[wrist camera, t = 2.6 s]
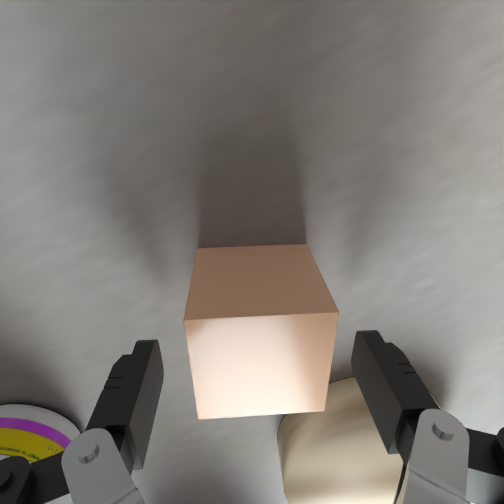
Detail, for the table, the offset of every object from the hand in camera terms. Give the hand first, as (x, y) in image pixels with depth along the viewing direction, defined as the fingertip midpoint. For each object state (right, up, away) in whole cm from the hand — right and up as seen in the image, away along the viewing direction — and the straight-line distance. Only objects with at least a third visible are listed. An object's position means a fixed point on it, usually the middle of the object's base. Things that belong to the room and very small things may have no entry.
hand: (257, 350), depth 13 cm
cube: (0, +2, +3) cm, 4 cm away
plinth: (+7, -8, +9) cm, 14 cm away
